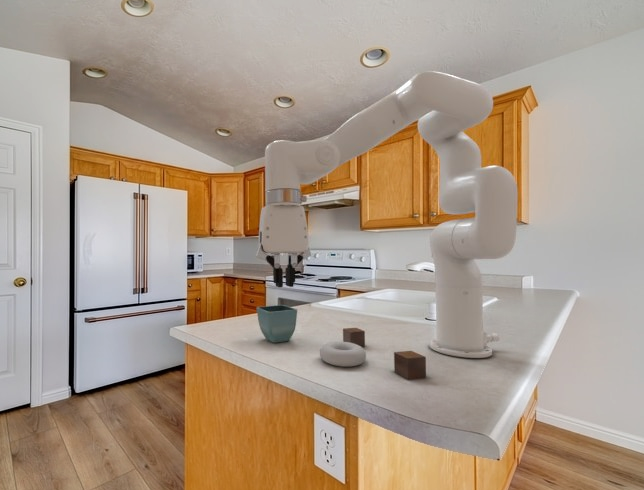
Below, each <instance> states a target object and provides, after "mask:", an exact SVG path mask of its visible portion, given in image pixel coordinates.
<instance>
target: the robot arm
mask: <svg viewBox="0 0 644 490" xmlns="http://www.w3.org/2000/svg"><path fill="white" fill-rule="evenodd" d="M493 108H494V99H493V96H492V94H491V92H490V91H489V90H488V89H487V87H485V86H483V85H481V83H480V84H479V83H477V82H474V81H471V80H468V79H465V78H461V77H459V76H455V75H452V74H449V73H445V72H440V71H434V70H426V71H420V72H419V73H416V74H414V75H413V76H412V77H411V78H410V79H409V80H407V81H405V83H403V84H402V85H401V86H400V87H398V88H397V89H395V90H394V91H392V92H391V93H389V94H387V95H386V96H384V97H382V98H381V99H379V100H378V101H376V102H374V103H373V104H371V105H369V106H368V107H366V108H363V110H360V111H359V112H357V113H356V114H355V115H353V116H352V117H350V118H349V119H347V120H346V121H345V122H344V123H343V124H342V125H340V126H339V127H338V128H336V130H334V132H332V133H331V134H329V135H328V136H327V137H325V138H324V139H313V140H312V139H311V140H305V141H293V140H288V139H286V140H285V139H280V140H275V141H271V142H269V144H267V145H266V147H265V148H264V181H265V182H264V183H265V184H264V185H265V189H264V191H265V192H264V193H265V206H263V207H261V212H260V215H259V229H258V249H257V251H256V254H255V256H256V258H258V259H261V260H263V261H266V263H268V264H269V265H270V267H271V268H272V273H273V274H272V279H273V280H272V281H273V283H274V284H275V287H277V288H283V287H284V270H283V268H282V265H281V254H287V265H286V266H287V267H285V286H287V287H289V288H294V283H296V269H297V267H298V265H299V264H300V263H301V262H302V261H303V260H305V259H308V258H310V257H311V256H312V253H311V250H310V247H309V231H308V221H307V217H306V211H305V207H304V206H303V205H302V204H303V203H306V202H307V201H308V199H307V198H308V197H307V195H304V194H302V191H301V185H304V186H305V185H312V184H314V183H315V182H317V181H318V180H320V179H322V178H324V177H326V176H327V175H329V174H331V173H332V172H333V171H335V170H336V169H337V168H338V167H340V166H342V165H344V164H345V163H347V162H349V161H351V160H353V159H355V158H357V157H360V156H361V155H364V154H365V153H367V152H369V151H370V150H372V149H373V148H375V147H377V146H378V145H380V144H382V143H383V142H385V141H387V140H388V139H390V138H391V137H393V136H394V135H397V133H399V132H401V131H402V130H404V129H405V128H406V127H407V128H408V127H409V126H410V125H412V124H413V123H415V122H416V121H417V132H418V134H419V136H420V137H421V138H422V139H423V140H424V142H426V144H428V145H429V146H430V147H431V148H432V149H433V150H434V151H435V152H436V154H437V156H438V160H439V178H438V205H439V207H440V209H441V211H442V212H444V213H446V214H448V215H465V214H472V213H473V214H474V215H475V216H474V217H468V218H459V219H451V220H447V221H444V222H441V223H439V224H438V225H436V226H435V227H434V228H433V229H432V231H431V233H430V237H429V247H430V251H431V255H432V258H433V264H434V280H435V281H434V282H435V286H434V287H435V328H436V329H435V331H436V338H435V339H432V340H430V341H429V348H430V349H431V350H433V351H435V352H437V353H439V354H443V355H447V356H453V357H457V358H467V359H484V358H485V359H486V358H490V357H491V356H493V349H492V348H491V347H489V346H488V343H489V342H490V343H492V342H499V341H500V336H499V334H497V333H496V332H493V333H487V332H486V331H484V307H483V306H484V303H483V302H484V301H483V299H484V298H483V277H482V273H481V271H480V268H479V266H478V264H477V263H476V261H475V260H499V259H502V258H504V257H506V256H507V255H509V254H510V253H511V251H513V248H514V246H515V243H516V237H517V225H518V224H517V223H518V198H519V196H518V195H519V193H518V184H517V181H516V179H515V177H514V175H513V174H512V173H511V171H510V170H508V168H505V167H503V166H501V165H488V166H483V167H482V152H481V148H480V147H479V145H478V144H477V143H476V142H475V140H474V139H472V138H471V137H470V136H469V135H467V134H466V133H465V132H464V131H466V130H469V129H471V128H473V127H476V126H478V125H479V124H481V123H483V122H484V121H485V120H487V119H488V117H489V116H490V115H491V113H492V111H493ZM269 254H270V255H269Z"/></svg>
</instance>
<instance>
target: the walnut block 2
mask: <svg viewBox="0 0 644 490" xmlns="http://www.w3.org/2000/svg"><path fill="white" fill-rule="evenodd" d="M393 369H394V371H393V372H394V373H395V374H397V375H400V377H402V378H404V379H406V380H417V379H425V378H427V357H426V356H425V355H422V354H421V353H418V352H415V351H413V350H402V351H394V352H393Z"/></svg>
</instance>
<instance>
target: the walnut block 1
mask: <svg viewBox="0 0 644 490" xmlns="http://www.w3.org/2000/svg"><path fill="white" fill-rule="evenodd" d="M365 332H366V331H365V330H363V329H361V328H359V327H347V328H342V342H349V343H354V344H357V345H359V346H361V347H362V348H365V347H366V333H365Z"/></svg>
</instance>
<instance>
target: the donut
mask: <svg viewBox="0 0 644 490" xmlns="http://www.w3.org/2000/svg"><path fill="white" fill-rule="evenodd" d="M318 353H319V356H320V358H321V360H322V361H323V362H325V363H327V364H328V365H332V366H335V367H343V368H344V367H345V368H348V367H349V368H350V367H351V368H352V367H357V366H359V365H362V364H363V363H364V362H365V361H366V359H367V353H366V351H365V349H364V347H361V346H359V345H357V344H354V343H349V342H343V341H330V342H326V343H324V344H322V345H321V347H320V349H319V351H318Z"/></svg>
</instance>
